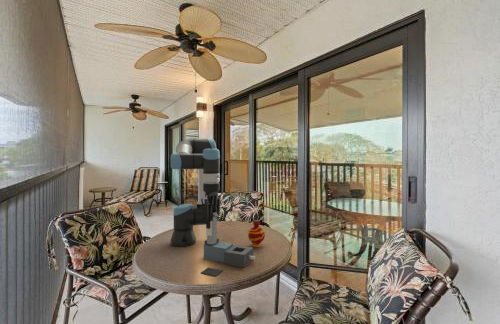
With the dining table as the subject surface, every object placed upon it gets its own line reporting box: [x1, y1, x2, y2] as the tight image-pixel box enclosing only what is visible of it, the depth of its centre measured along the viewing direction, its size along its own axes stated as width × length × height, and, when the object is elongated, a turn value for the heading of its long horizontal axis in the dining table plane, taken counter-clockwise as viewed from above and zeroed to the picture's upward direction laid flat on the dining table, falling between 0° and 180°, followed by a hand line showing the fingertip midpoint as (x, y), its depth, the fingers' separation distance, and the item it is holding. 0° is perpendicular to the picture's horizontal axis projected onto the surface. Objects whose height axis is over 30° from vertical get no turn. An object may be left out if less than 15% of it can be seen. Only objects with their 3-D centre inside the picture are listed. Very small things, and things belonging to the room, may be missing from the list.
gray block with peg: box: [206, 212, 219, 244], centre depth 116 cm, size 3×6×14 cm, turn 66°
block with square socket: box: [203, 237, 256, 268], centre depth 131 cm, size 27×11×9 cm, turn 66°
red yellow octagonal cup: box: [247, 219, 266, 248], centre depth 152 cm, size 10×10×15 cm
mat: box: [200, 267, 224, 277], centre depth 117 cm, size 8×6×1 cm
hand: (211, 233), depth 116 cm, fingers closed on gray block with peg, 3 cm apart
